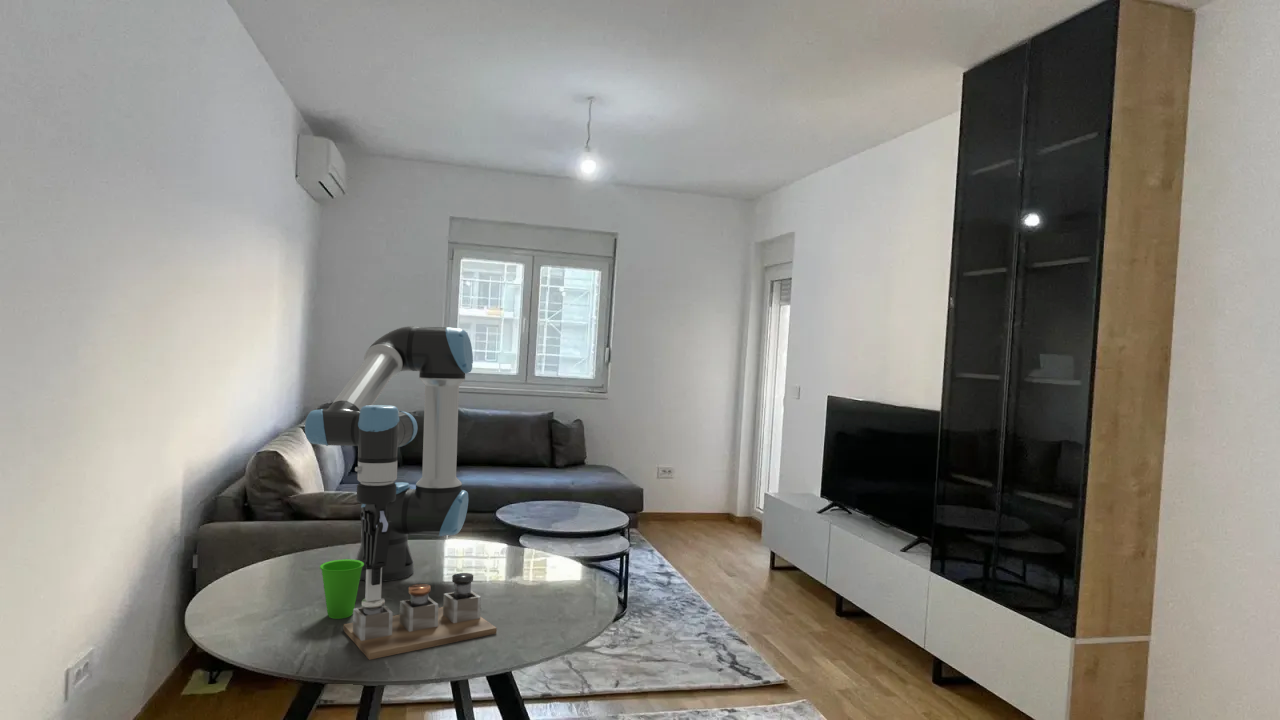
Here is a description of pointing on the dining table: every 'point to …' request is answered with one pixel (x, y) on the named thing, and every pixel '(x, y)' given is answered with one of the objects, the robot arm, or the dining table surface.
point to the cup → (341, 586)
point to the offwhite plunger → (372, 606)
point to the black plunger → (462, 585)
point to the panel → (418, 626)
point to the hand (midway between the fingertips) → (373, 599)
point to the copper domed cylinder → (419, 594)
